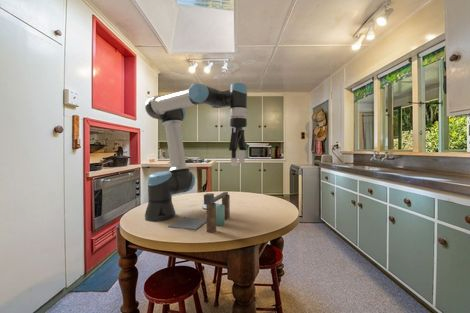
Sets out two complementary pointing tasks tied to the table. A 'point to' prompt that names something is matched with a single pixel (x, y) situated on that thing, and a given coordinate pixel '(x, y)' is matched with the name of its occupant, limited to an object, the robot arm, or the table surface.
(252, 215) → the table surface
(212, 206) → the frame
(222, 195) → the dark grey bar
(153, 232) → the table surface
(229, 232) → the table surface
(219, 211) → the plug
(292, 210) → the table surface
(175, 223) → the pad
